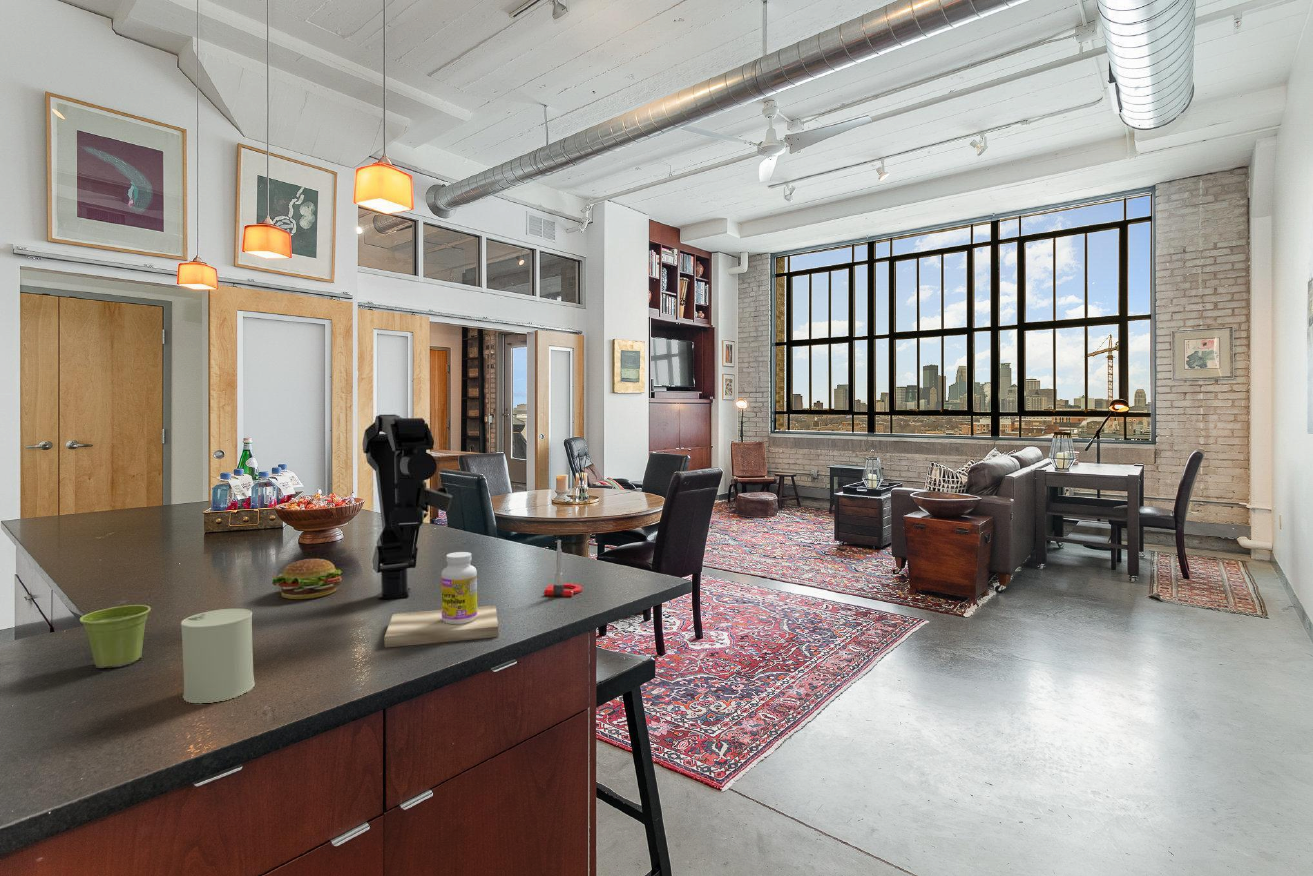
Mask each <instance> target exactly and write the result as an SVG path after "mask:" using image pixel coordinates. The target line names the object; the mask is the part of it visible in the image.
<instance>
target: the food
mask: <svg viewBox="0 0 1313 876" xmlns="http://www.w3.org/2000/svg"><path fill="white" fill-rule="evenodd" d="M342 575H343V571H341V569H337V568H336V567H335V564H334V563H333V562H331V561H330V560H326V559H322V558H307V559H302V560H298V561H297V560H296V561H294V562H292V563H290V564H288V565H286V566H285V568H284V569H283V571H282V574H281V573H280V574H278V575H277V576H274V575H273V576H272V578H271V579H272V583H271V584H273V585H274V586H279V587H280V588H281V594H280V595H281V597H282V598H284V599H289V600H309V599H316V598H321V597H324V596H327V595H330V594H333V593H334V592H336V591H337V590H338V587H339V586H340V585H341V583H340V582H341V581H342V579H343V578H342Z"/></svg>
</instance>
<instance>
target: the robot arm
mask: <svg viewBox="0 0 1313 876" xmlns="http://www.w3.org/2000/svg"><path fill="white" fill-rule="evenodd" d="M434 444H435V440H434V437H433V434H432V431H431V429H430V427H429V424H428V423H426V420H425V419H424V418H423V417H401V416H400V415H397V414H378V415H375V418H374V422H373V423H372V424H371V425H369V426H368V427H367V428H366V429H365V431H364V433H363V438H362V452H363V454H365V457H366V462H367V464H368V465H369V466H370V467H371V469H373V471H374V472H375V479H376V488H377V494H378V503H379V510H380V518H381V519H380V520H381V527H382V530H381V532H380V534H379V536H378V539H377V541H376V545H375V547H374V551H373V556H372V561H371V562H372V570H373V571H375V572H376V573H377V574H379V573H380V582H381V584H380V585H381V587H380V588H381V590H380V592H379V594H378V596H377V597H378V598H377V599H378V600H388V599H389V600H390V599H399V598H409V596H410V593H411V590H412V588H411V587H409V583H408V581H409V580H408V578H409V577H408V576H409V575H408V569H415V568H416V567H417V559H418V558H417V556H418V551H419V547H418V546H417V545H418V539H419V535H420V530H421V529H420V528H421V526H422V525H423V523H424V520H425V518H426V517H427V516H428V515H429V511H430V507H433V508H436V509H439V510H440V511H443V512H448V510H449V508H450V504H451V503H452V499H453V497H454V496H453V495H452V494H450V493H448V488H447V487H444V486H439V487H438V488H437V489H432V488H428V486H427V482H426V481H427V480H429V479H431V478H432V477H433V476H434V475H435V474H436V472H437V467H438V463H437V461H436V459H435V458H434V456H433V455H432V454H431V453H428V452H427V451H430V450H434Z"/></svg>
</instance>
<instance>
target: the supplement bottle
mask: <svg viewBox="0 0 1313 876" xmlns="http://www.w3.org/2000/svg"><path fill="white" fill-rule="evenodd" d="M445 555H446V557H445V559H446V563H447V566H446V567H444V568H443V569H442V571H441V574H440V577H441V578H440V579H441V583H440V585H441V591H440V593H441V610H442V620H443V621H444V622H445V623H448V624H464V623H468V622H471V621H473V620H475V619H476V617H477V607H478V571H477V568H476V567H475V566H473V565H471V562H472V553H471V552H469V551H468V552H467V551H456V552H450V553H447V554H445Z"/></svg>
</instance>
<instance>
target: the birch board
mask: <svg viewBox="0 0 1313 876" xmlns="http://www.w3.org/2000/svg"><path fill="white" fill-rule="evenodd" d="M490 638H499V622H498V613H497V605H485V606H477V617H476V619H475V620H473V621H471V622H468V623H464V624H448V623H445V622H444V621H443V620H442V609H437V610H423V611H411V612H401V613H393V614H392V616H391V619H390V621H389V623H388V626H387V628H386V631H385V635H384V639H383V640H384V648H392V647H395V648H396V647H405V646H415V645H426V644H437V643H447V642H458V641H460V642H461V641H468V640H470V641H471V640H481V639H490Z"/></svg>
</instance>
